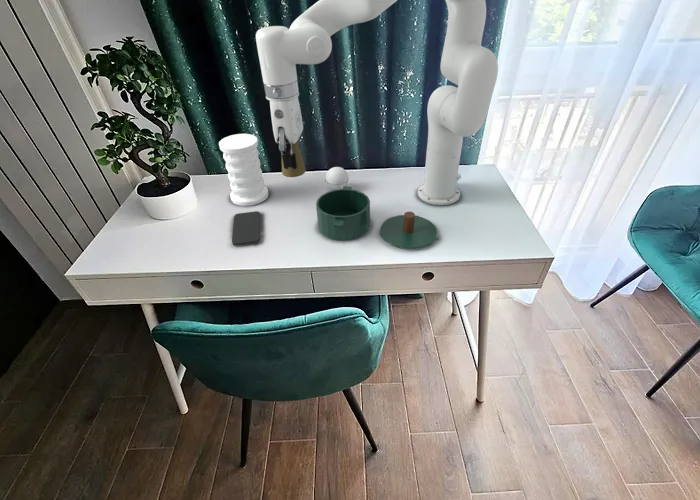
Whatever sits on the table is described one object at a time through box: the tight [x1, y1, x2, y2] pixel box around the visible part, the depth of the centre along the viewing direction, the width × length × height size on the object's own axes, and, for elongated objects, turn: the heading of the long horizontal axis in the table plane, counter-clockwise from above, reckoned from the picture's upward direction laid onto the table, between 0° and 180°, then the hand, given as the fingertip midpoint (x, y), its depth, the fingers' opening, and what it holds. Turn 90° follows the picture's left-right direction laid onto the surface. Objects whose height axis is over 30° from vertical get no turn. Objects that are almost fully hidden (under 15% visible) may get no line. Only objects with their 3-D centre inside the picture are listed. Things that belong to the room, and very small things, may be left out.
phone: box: [231, 210, 261, 247], centre depth 111 cm, size 7×1×15 cm
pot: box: [315, 185, 371, 242], centre depth 109 cm, size 14×20×8 cm
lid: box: [379, 211, 438, 250], centre depth 105 cm, size 15×15×6 cm
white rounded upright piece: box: [324, 166, 350, 191], centre depth 124 cm, size 10×7×7 cm
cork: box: [281, 136, 306, 178], centre depth 99 cm, size 6×6×11 cm
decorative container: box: [218, 133, 269, 207], centre depth 120 cm, size 12×12×18 cm
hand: (292, 163), depth 101 cm, fingers closed on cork, 4 cm apart
